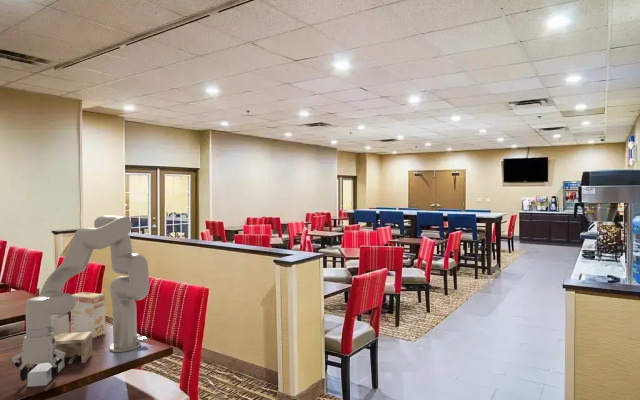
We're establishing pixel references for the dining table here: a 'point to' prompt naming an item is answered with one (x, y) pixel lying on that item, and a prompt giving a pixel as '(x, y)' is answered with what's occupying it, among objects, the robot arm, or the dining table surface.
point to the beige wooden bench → (74, 345)
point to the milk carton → (60, 323)
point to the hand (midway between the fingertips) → (39, 378)
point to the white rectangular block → (42, 373)
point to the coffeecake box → (88, 313)
